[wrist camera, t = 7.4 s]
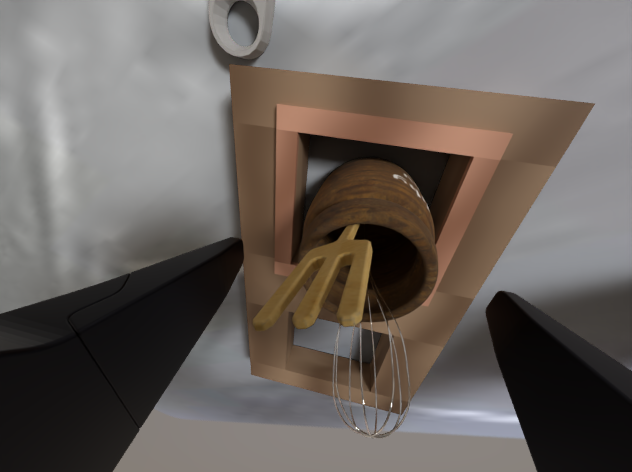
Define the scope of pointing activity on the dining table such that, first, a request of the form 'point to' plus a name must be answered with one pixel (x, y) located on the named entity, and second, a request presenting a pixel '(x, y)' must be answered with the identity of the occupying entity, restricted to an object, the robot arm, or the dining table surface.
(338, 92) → the double window frame
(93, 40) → the dining table surface
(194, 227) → the dining table surface
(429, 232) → the utensil holder
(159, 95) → the dining table surface
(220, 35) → the adjustable wrench
